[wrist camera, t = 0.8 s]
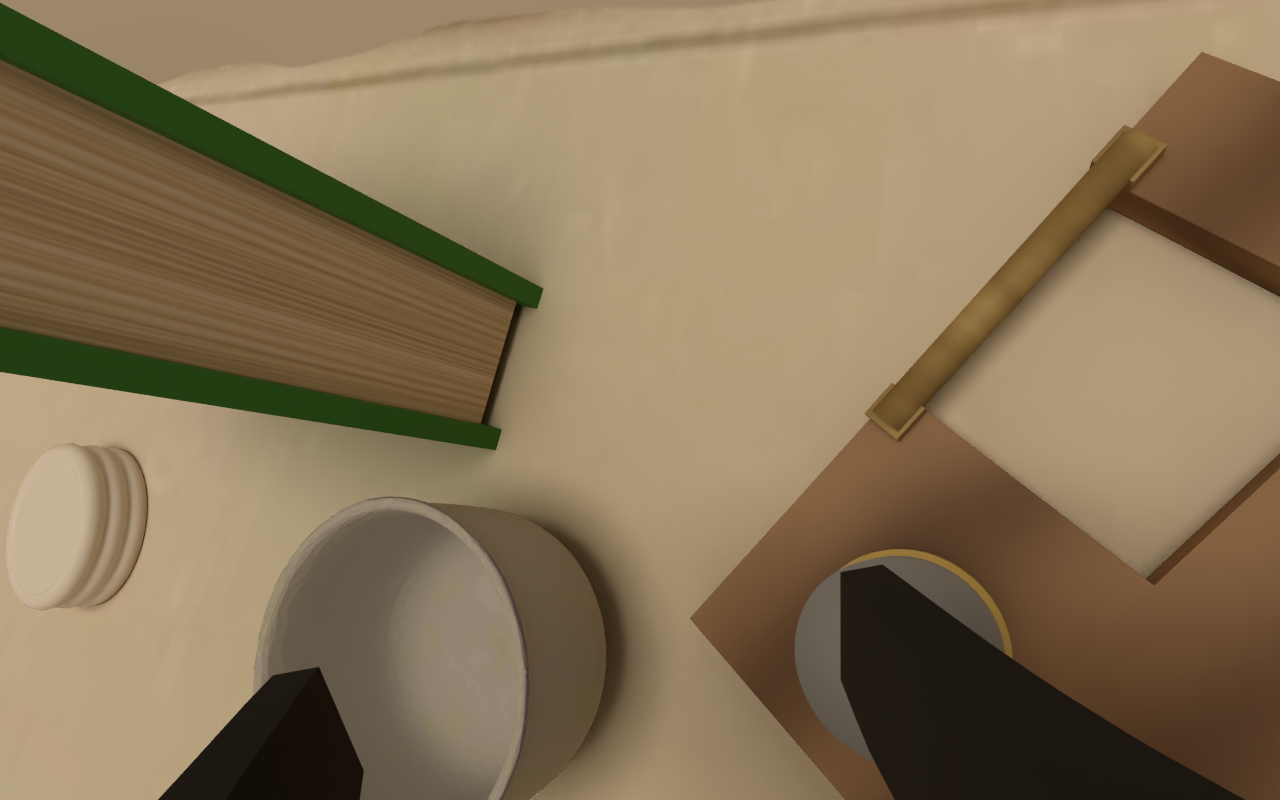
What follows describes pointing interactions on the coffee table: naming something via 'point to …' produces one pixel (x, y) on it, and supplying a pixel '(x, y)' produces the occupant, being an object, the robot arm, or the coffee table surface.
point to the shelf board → (1034, 531)
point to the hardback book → (224, 262)
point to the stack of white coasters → (75, 527)
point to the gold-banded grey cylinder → (822, 629)
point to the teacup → (443, 646)
